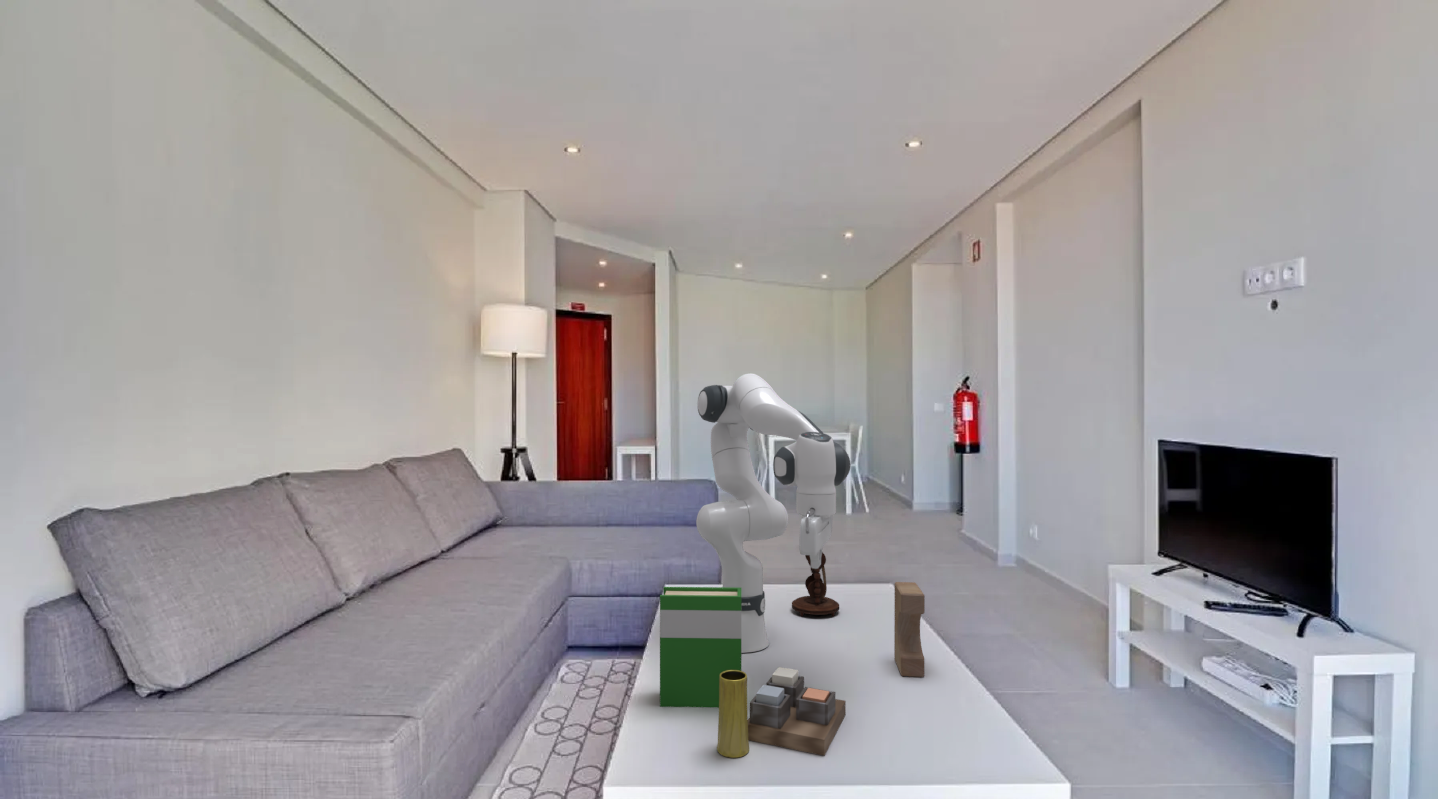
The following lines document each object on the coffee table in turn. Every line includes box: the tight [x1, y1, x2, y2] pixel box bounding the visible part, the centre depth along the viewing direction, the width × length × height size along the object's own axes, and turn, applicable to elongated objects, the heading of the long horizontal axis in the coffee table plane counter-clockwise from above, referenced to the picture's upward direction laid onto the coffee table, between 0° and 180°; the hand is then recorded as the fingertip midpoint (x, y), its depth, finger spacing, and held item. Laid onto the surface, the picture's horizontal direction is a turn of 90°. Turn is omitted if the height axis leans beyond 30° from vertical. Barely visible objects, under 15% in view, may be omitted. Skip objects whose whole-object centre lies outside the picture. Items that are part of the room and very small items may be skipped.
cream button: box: [771, 666, 799, 687], centre depth 146 cm, size 4×4×3 cm
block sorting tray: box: [747, 675, 847, 757], centre depth 140 cm, size 16×18×7 cm
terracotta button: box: [802, 687, 830, 703], centre depth 138 cm, size 4×4×3 cm
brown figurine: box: [791, 551, 840, 618], centre depth 215 cm, size 15×15×20 cm
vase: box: [716, 670, 750, 759], centre depth 131 cm, size 6×6×14 cm
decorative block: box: [893, 581, 926, 678], centre depth 170 cm, size 11×6×20 cm, turn 173°
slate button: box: [755, 684, 784, 706], centre depth 137 cm, size 4×4×3 cm
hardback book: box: [659, 586, 742, 709], centre depth 152 cm, size 18×7×24 cm, turn 88°
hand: (815, 567), depth 154 cm, fingers closed
